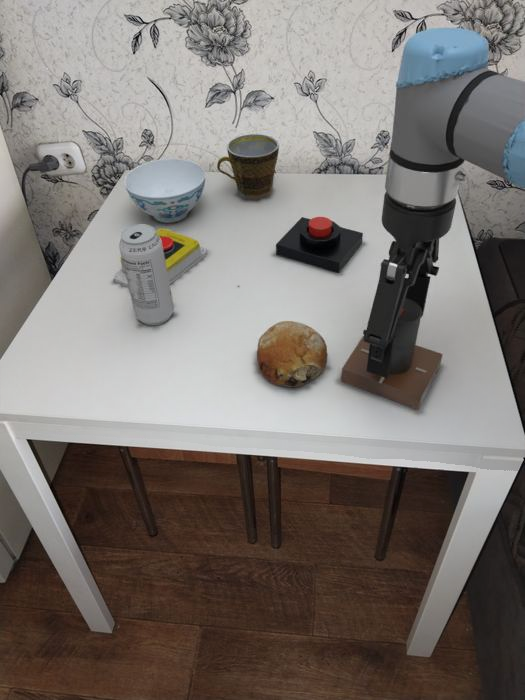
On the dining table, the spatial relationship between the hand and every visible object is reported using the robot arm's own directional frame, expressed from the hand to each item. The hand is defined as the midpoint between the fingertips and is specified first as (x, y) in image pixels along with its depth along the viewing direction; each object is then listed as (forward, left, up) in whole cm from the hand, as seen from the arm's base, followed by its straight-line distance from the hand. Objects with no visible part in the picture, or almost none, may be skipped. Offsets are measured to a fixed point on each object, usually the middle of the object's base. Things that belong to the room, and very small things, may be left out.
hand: (396, 342), depth 77 cm
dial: (0, 0, -3) cm, 3 cm away
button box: (+22, -23, -6) cm, 32 cm away
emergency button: (+44, -6, -6) cm, 45 cm away
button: (+22, -23, -2) cm, 32 cm away
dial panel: (0, 0, -6) cm, 6 cm away
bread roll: (+13, +5, -6) cm, 15 cm away
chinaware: (+53, -21, -6) cm, 57 cm away
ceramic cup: (+43, -34, -6) cm, 55 cm away
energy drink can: (+37, +5, -6) cm, 38 cm away
